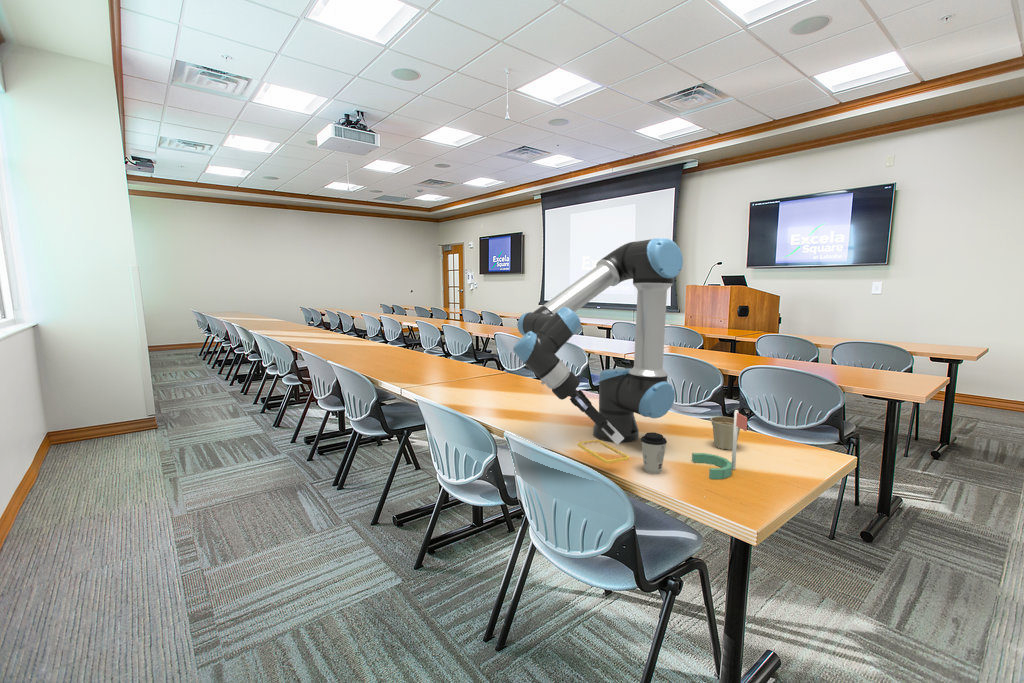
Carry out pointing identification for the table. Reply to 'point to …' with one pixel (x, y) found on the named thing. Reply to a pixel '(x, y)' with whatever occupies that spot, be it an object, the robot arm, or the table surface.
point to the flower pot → (723, 432)
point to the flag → (738, 422)
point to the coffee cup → (653, 452)
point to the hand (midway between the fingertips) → (620, 440)
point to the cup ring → (715, 460)
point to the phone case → (601, 457)
